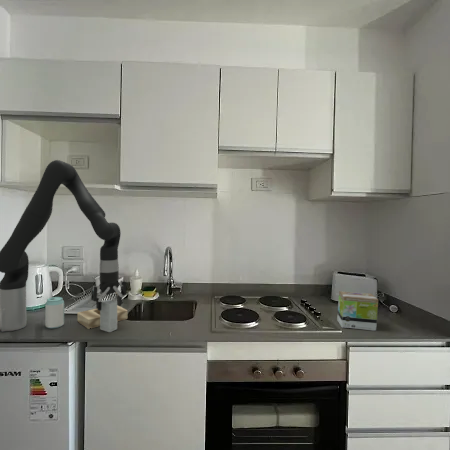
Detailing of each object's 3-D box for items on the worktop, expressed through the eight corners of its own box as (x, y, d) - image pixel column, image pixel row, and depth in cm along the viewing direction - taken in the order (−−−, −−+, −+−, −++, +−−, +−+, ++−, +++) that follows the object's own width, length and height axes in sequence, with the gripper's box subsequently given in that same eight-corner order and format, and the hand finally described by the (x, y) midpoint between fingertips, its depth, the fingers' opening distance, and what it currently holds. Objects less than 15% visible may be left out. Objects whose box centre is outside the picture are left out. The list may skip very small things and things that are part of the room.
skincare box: (117, 329, 130) (117, 301, 129) (109, 332, 126) (109, 304, 125) (108, 326, 133) (108, 299, 132) (99, 329, 129) (99, 301, 128)
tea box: (341, 328, 138) (343, 296, 137) (336, 320, 148) (338, 290, 147) (377, 331, 136) (378, 298, 135) (369, 323, 145) (371, 292, 145)
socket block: (88, 329, 129) (88, 319, 129) (77, 321, 137) (77, 312, 137) (127, 318, 142) (127, 310, 142) (115, 312, 150) (115, 304, 150)
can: (43, 329, 127) (43, 301, 127) (48, 323, 134) (48, 296, 133) (61, 328, 129) (61, 300, 128) (65, 322, 136) (65, 295, 135)
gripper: (120, 266, 136) (120, 302, 137) (88, 271, 126) (88, 309, 126) (129, 269, 131) (129, 306, 132) (96, 273, 120) (96, 314, 121)
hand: (109, 307), depth 129 cm, fingers open, 8 cm apart
